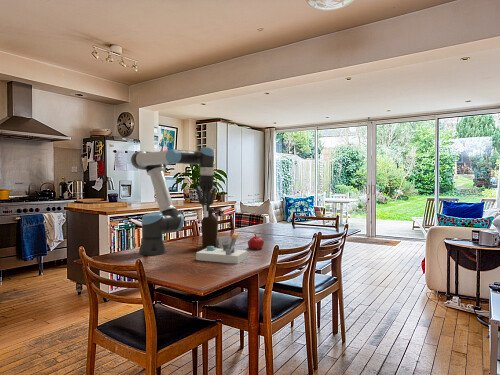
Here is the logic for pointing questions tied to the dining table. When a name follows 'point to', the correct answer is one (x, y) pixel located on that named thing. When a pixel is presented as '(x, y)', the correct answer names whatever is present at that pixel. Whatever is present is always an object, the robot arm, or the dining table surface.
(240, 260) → the panel
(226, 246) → the slider
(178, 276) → the dining table surface
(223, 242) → the electrical switch
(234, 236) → the lever
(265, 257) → the dining table surface
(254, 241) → the pomegranate
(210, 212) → the olive oil
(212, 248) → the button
